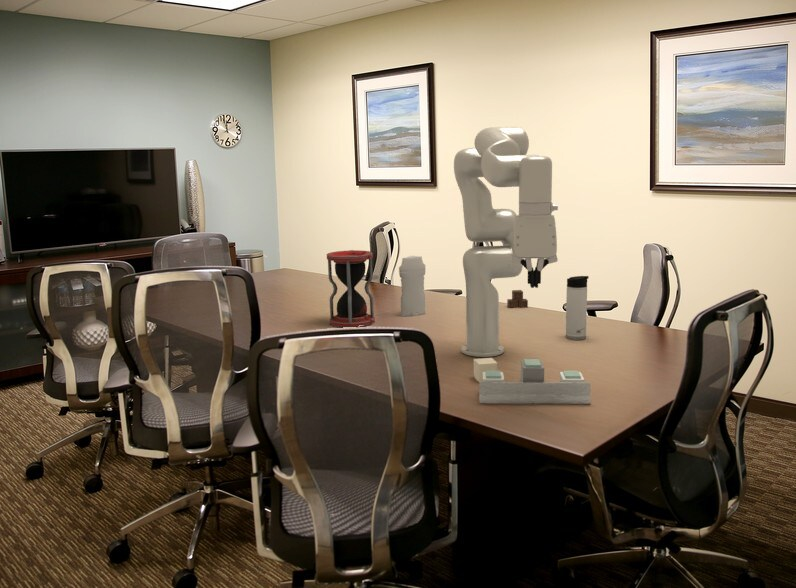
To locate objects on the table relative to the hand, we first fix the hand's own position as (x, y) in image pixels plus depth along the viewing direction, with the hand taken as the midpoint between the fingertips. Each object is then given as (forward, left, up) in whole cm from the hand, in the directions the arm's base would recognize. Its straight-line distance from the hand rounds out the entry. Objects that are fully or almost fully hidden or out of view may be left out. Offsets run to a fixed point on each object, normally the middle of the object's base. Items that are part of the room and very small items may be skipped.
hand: (534, 286), depth 174 cm
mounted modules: (+1, 0, -27) cm, 27 cm away
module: (0, 0, -27) cm, 27 cm away
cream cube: (-12, -11, -27) cm, 32 cm away
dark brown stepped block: (-102, +3, -28) cm, 106 cm away
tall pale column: (-88, -35, -27) cm, 99 cm away
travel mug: (-54, +19, -27) cm, 64 cm away
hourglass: (-76, -56, -27) cm, 99 cm away
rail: (+6, 0, -27) cm, 28 cm away
